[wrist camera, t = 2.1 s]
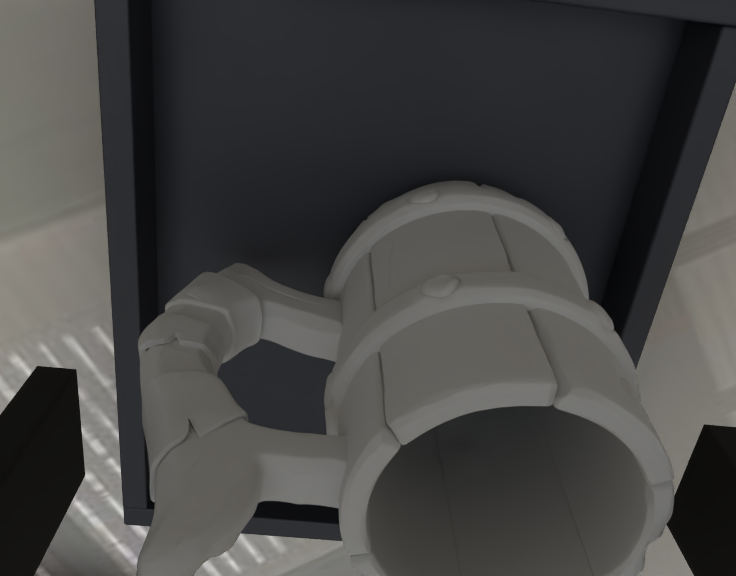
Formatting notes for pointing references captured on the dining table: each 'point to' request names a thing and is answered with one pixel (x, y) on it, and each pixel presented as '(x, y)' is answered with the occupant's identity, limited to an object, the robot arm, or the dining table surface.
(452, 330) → the mug
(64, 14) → the dining table surface
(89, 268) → the dining table surface
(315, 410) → the tray
